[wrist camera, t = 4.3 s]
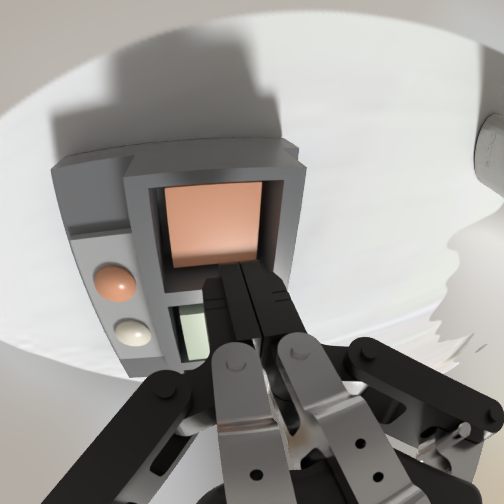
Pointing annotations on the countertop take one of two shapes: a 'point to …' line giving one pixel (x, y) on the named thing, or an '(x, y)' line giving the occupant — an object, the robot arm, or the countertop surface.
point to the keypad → (165, 233)
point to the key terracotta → (213, 222)
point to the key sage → (194, 331)
